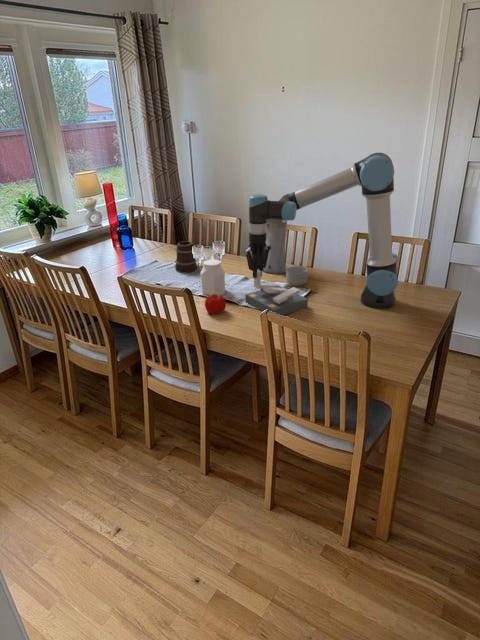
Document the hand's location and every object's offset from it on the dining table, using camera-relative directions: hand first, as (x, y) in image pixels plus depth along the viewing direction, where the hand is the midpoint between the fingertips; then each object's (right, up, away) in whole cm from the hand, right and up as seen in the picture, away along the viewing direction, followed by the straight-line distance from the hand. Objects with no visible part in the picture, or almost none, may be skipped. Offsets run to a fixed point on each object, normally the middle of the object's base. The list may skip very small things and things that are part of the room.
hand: (257, 284), depth 198 cm
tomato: (-18, -13, -4) cm, 23 cm away
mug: (-37, +13, +49) cm, 62 cm away
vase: (+11, +10, +42) cm, 45 cm away
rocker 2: (+8, -3, -2) cm, 9 cm away
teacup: (+21, +2, +25) cm, 33 cm away
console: (+9, -9, +1) cm, 13 cm away
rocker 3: (+12, -5, -7) cm, 15 cm away
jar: (-21, -3, +17) cm, 27 cm away
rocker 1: (+4, -1, +4) cm, 6 cm away
